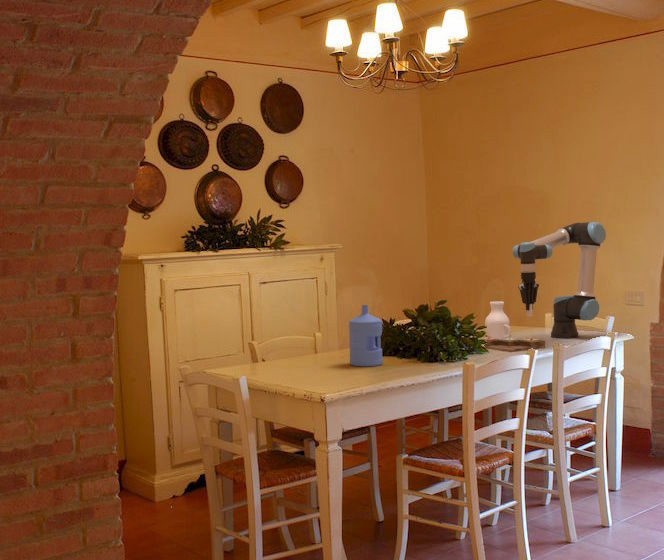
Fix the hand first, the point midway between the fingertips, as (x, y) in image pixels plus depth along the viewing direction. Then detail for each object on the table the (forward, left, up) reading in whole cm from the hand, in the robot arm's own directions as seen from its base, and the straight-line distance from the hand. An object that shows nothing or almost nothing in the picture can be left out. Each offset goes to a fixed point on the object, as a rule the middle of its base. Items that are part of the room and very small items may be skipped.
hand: (529, 316), depth 446 cm
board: (+11, -4, -16) cm, 19 cm away
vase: (-14, -42, -16) cm, 47 cm away
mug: (-4, -27, -16) cm, 32 cm away
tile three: (+4, +5, -14) cm, 15 cm away
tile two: (+18, -12, -14) cm, 26 cm away
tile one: (+11, -4, -14) cm, 18 cm away
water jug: (+100, -4, -16) cm, 101 cm away
